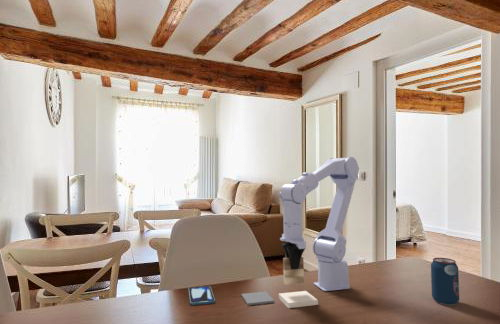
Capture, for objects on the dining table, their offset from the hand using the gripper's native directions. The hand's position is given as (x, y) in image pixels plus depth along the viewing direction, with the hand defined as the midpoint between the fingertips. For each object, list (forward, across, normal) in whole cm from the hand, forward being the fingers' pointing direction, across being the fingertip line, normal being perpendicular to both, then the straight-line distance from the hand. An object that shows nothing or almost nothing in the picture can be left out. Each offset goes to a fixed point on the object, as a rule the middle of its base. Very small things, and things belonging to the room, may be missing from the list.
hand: (293, 268), depth 102 cm
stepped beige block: (+4, 0, 0) cm, 4 cm away
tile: (+8, -1, 0) cm, 8 cm away
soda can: (+9, +15, +41) cm, 45 cm away
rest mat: (+9, -2, -11) cm, 14 cm away
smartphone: (+10, -10, -27) cm, 30 cm away
